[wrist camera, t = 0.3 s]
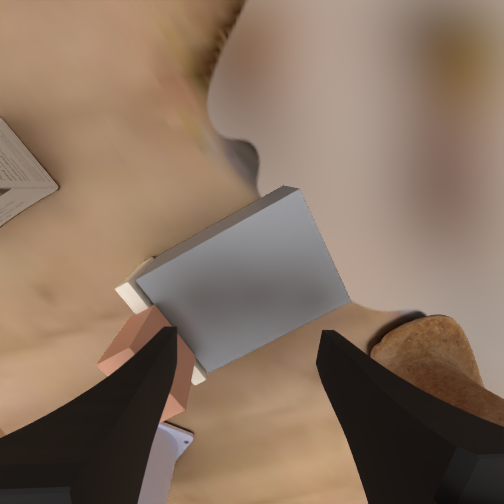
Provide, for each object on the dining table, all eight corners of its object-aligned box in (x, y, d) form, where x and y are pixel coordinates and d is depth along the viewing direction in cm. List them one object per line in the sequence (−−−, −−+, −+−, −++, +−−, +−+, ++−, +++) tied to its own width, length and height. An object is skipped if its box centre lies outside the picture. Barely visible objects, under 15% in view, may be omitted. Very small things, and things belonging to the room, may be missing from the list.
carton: (283, 185, 19) (299, 188, 15) (325, 274, 22) (351, 301, 17) (157, 255, 20) (135, 280, 16) (213, 332, 23) (208, 373, 18)
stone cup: (335, 346, 25) (474, 576, 11) (443, 294, 24) (755, 468, 10) (380, 434, 29) (519, 677, 15) (472, 393, 29) (712, 611, 14)
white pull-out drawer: (271, 189, 19) (305, 201, 10) (317, 282, 22) (374, 352, 13) (137, 265, 20) (64, 333, 11) (197, 344, 23) (177, 447, 14)
